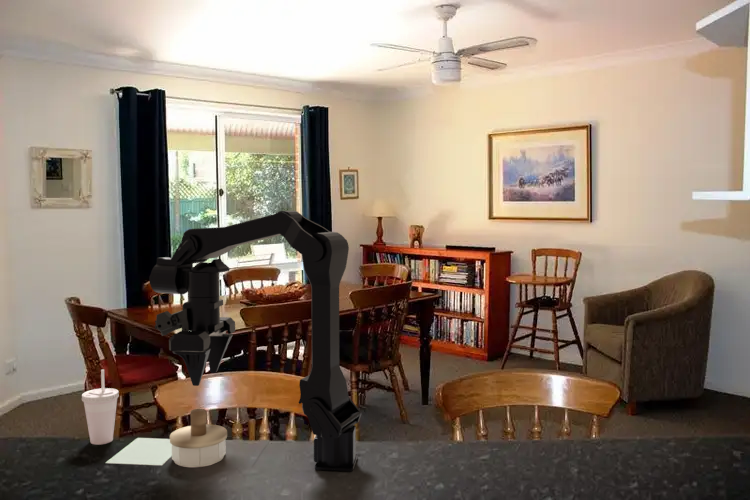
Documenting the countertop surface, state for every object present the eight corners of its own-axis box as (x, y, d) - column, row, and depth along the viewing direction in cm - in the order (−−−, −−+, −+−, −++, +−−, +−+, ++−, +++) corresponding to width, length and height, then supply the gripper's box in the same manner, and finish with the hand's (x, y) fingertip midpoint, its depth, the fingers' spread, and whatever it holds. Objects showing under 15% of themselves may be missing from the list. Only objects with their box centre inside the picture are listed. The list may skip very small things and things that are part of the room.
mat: (188, 442, 122) (188, 439, 122) (161, 468, 110) (161, 465, 110) (137, 440, 123) (137, 437, 123) (105, 466, 111) (105, 462, 111)
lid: (234, 429, 118) (234, 403, 117) (216, 449, 108) (215, 421, 108) (183, 427, 119) (182, 401, 118) (160, 447, 109) (159, 419, 109)
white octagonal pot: (230, 452, 118) (230, 430, 117) (214, 471, 109) (214, 447, 109) (185, 450, 118) (184, 429, 118) (165, 469, 110) (165, 446, 110)
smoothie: (111, 450, 119) (109, 374, 118) (76, 449, 119) (74, 374, 118) (125, 437, 125) (123, 365, 124) (92, 437, 125) (90, 365, 124)
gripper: (181, 288, 131) (182, 365, 132) (138, 302, 113) (141, 391, 114) (235, 289, 130) (236, 366, 131) (201, 303, 111) (203, 393, 113)
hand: (205, 378), depth 122 cm, fingers open, 9 cm apart
